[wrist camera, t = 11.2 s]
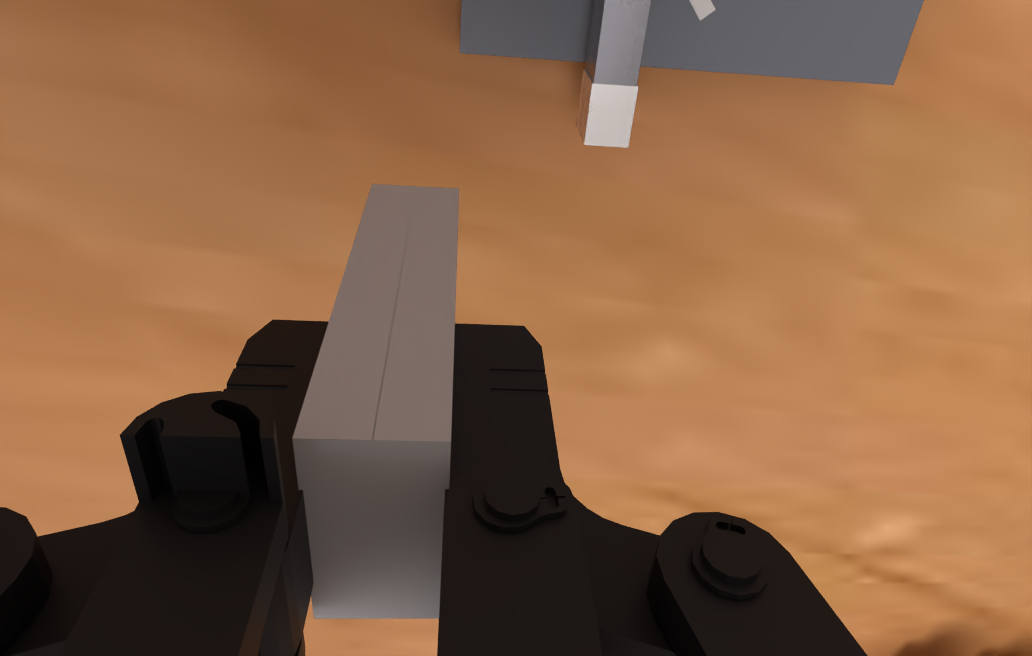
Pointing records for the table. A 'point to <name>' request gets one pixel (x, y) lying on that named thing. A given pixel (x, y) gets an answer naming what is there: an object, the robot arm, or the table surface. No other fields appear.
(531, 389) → the robot arm
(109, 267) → the table surface
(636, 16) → the dial
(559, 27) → the console
